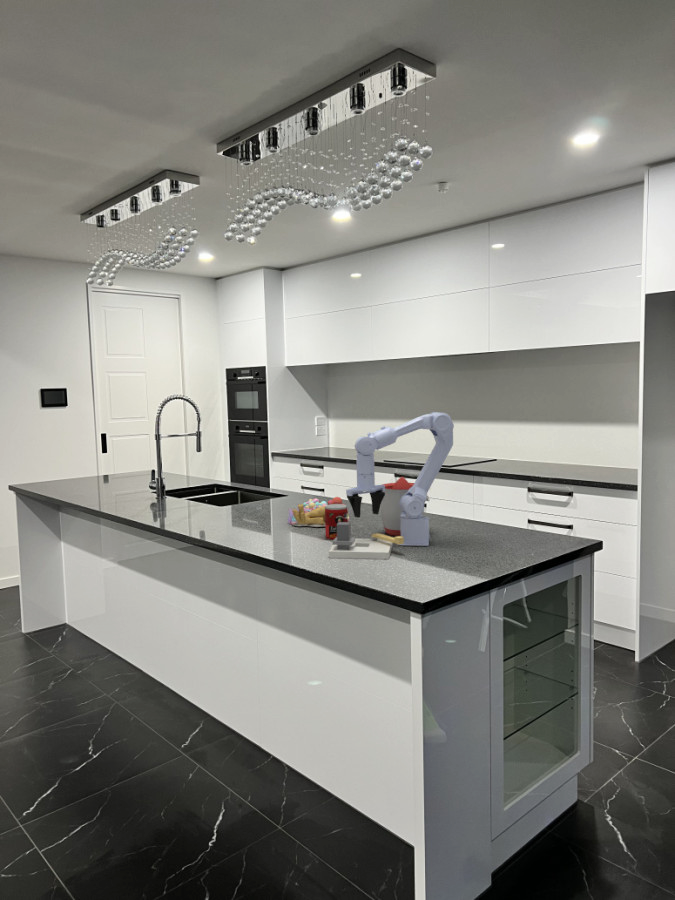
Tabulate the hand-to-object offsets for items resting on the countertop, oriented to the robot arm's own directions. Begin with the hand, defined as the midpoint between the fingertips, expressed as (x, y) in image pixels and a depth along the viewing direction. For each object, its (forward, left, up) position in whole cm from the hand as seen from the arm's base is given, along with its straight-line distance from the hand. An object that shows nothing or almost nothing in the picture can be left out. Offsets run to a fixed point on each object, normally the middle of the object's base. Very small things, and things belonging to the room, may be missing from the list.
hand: (366, 515), depth 217 cm
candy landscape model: (+23, -38, -10) cm, 46 cm away
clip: (-7, +6, -8) cm, 12 cm away
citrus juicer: (-11, -19, -10) cm, 24 cm away
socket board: (+1, +8, -10) cm, 13 cm away
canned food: (+12, -11, -10) cm, 19 cm away
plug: (+6, +13, -8) cm, 16 cm away
